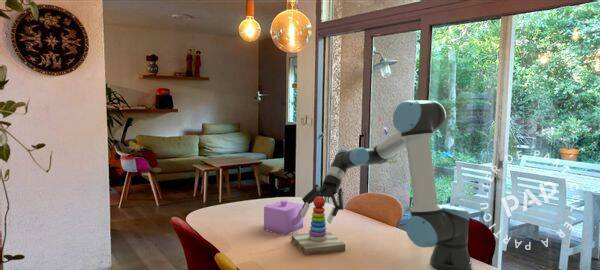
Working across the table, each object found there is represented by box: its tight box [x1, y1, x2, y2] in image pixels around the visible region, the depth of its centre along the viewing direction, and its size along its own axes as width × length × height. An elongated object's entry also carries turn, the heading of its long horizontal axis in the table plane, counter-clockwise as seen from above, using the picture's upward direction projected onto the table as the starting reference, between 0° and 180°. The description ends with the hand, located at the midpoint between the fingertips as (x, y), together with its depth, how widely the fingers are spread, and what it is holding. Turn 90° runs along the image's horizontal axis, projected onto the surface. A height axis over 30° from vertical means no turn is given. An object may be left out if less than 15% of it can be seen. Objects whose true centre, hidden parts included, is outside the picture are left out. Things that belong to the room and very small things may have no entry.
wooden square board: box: [291, 230, 346, 256], centre depth 186 cm, size 18×18×3 cm
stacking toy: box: [308, 196, 327, 241], centre depth 185 cm, size 8×8×19 cm
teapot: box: [263, 199, 304, 236], centre depth 208 cm, size 15×25×14 cm, turn 57°
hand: (315, 219), depth 183 cm, fingers open, 13 cm apart
